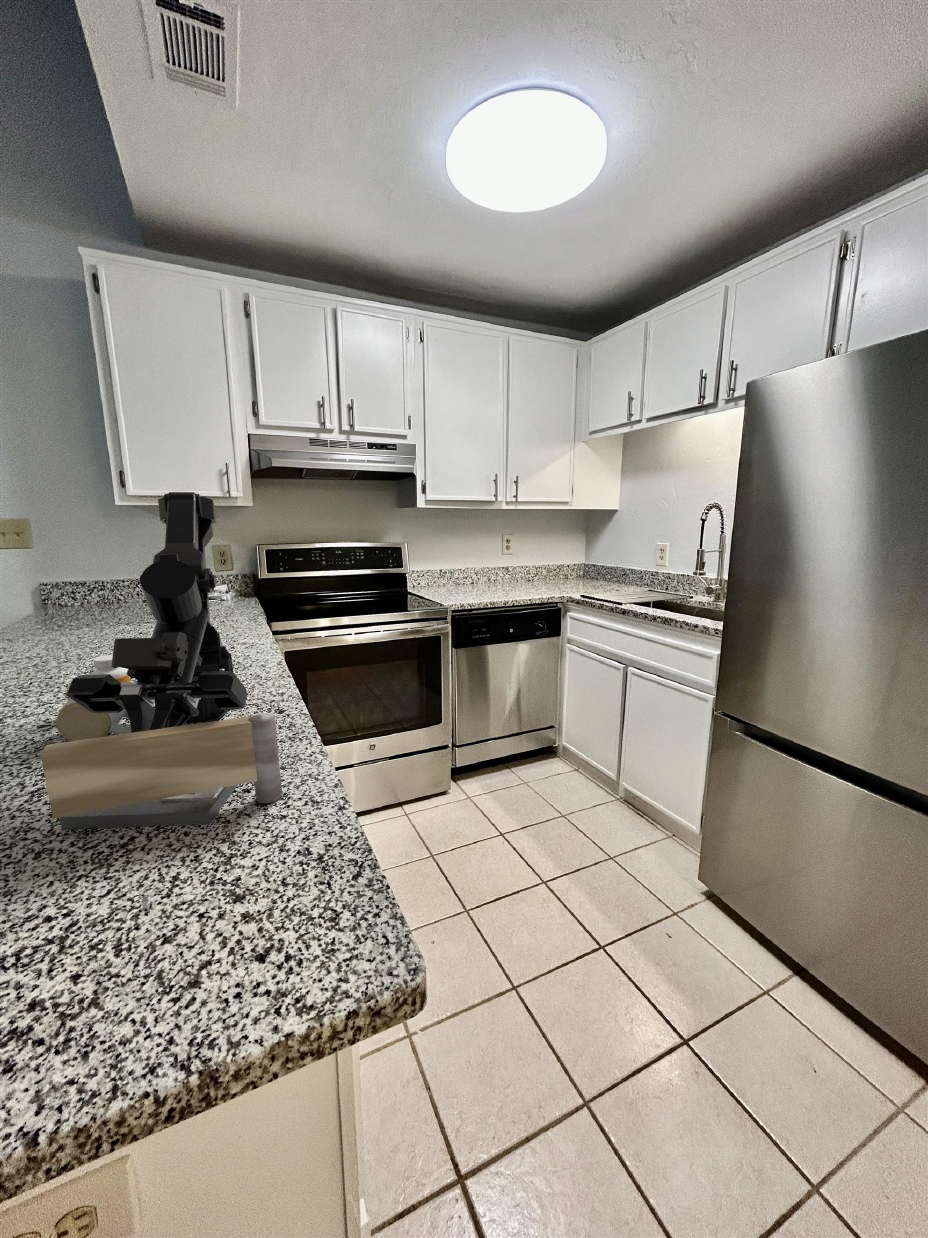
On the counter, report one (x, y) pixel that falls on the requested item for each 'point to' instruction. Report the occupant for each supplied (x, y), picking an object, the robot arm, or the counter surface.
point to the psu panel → (156, 812)
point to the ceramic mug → (88, 722)
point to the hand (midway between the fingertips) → (141, 761)
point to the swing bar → (163, 764)
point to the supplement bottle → (109, 668)
